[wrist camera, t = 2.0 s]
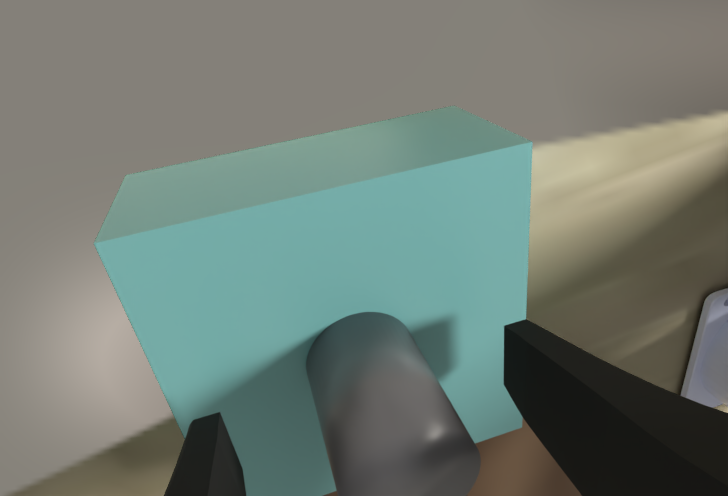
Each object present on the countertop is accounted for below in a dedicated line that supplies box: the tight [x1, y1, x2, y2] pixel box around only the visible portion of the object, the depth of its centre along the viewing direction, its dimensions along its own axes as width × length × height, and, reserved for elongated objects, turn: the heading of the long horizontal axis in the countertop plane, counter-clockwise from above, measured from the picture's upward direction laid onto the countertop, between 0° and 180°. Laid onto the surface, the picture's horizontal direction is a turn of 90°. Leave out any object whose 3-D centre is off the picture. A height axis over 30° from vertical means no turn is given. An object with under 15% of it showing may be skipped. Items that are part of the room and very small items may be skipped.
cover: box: [94, 106, 532, 496], centre depth 13 cm, size 10×10×8 cm
